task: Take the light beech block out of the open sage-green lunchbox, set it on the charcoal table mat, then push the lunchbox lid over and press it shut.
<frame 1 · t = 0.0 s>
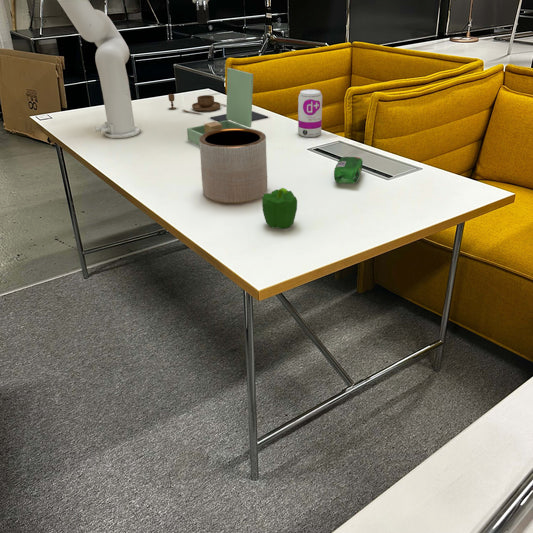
hand: (203, 21, 187), 37 cm above the table, tool pointing down, fingers open, 9 cm apart
place setting: (198, 108, 236), on the table
lunchbox: (219, 142, 193), on the table
planter: (235, 193, 153), on the table
supplement can: (309, 134, 199), on the table
snack package: (348, 179, 160), on the table
block: (214, 141, 192), point 1 cm above the table, touching lunchbox
mat: (239, 118, 221), on the table
lid: (239, 97, 191), point 14 cm above the table, hinge at 95.0°
bell pepper: (279, 225, 135), on the table
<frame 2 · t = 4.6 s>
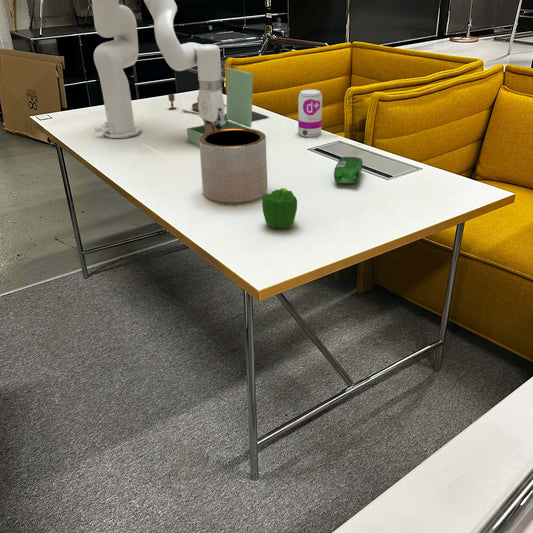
hand: (214, 139, 192), 2 cm above the table, tool pointing down, fingers closed on block, 4 cm apart
block: (214, 141, 192), point 1 cm above the table, touching gripper, lunchbox
everything else where it was.
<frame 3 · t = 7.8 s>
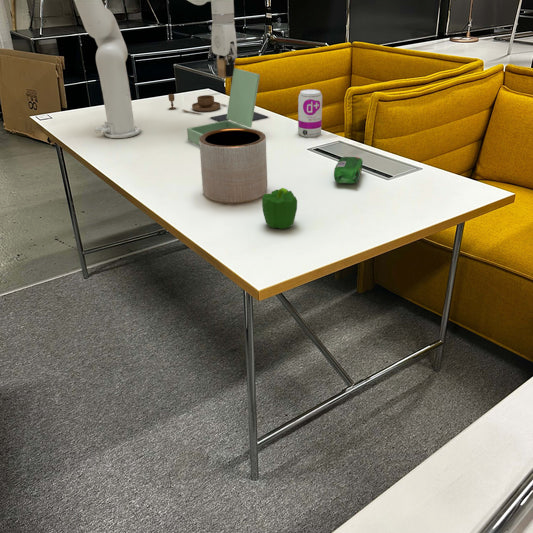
hand: (226, 74, 198), 19 cm above the table, tool pointing down, fingers closed on block, 4 cm apart
block: (226, 76, 199), point 19 cm above the table, touching gripper
lid: (242, 97, 192), point 14 cm above the table, hinge at 104.1°
everything else where it was.
when the fingers open (1 cm above the table, at t = 13.4 s): block stays where it is, resting on mat.
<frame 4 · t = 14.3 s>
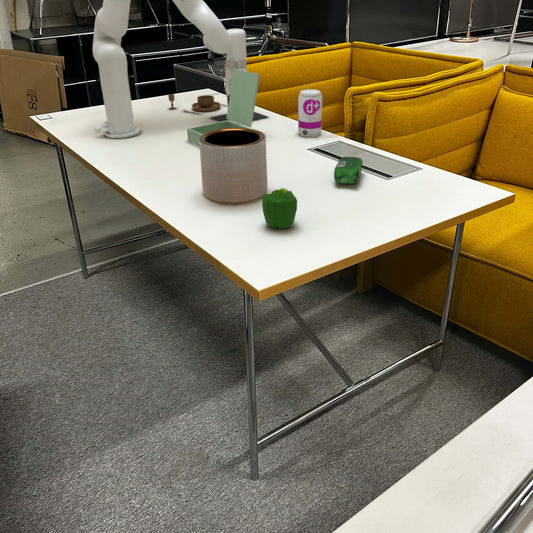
hand: (238, 110, 219), 3 cm above the table, tool pointing down, fingers open, 9 cm apart
block: (239, 116, 220), resting on mat
everything else where it was.
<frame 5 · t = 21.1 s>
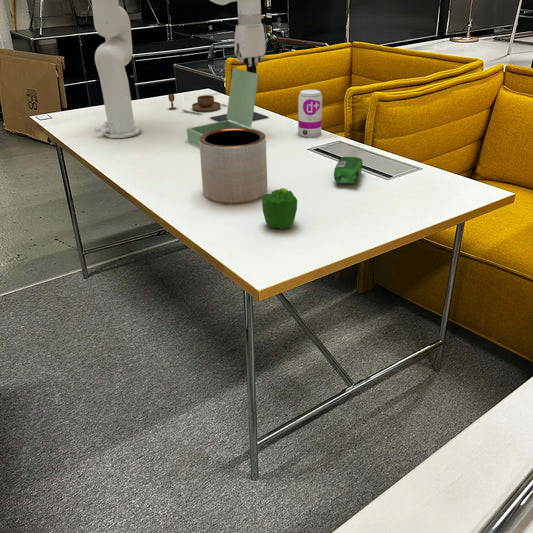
hand: (251, 78, 191), 20 cm above the table, tool pointing down, fingers closed
lid: (241, 97, 192), point 14 cm above the table, hinge at 102.4°
everything else where it was.
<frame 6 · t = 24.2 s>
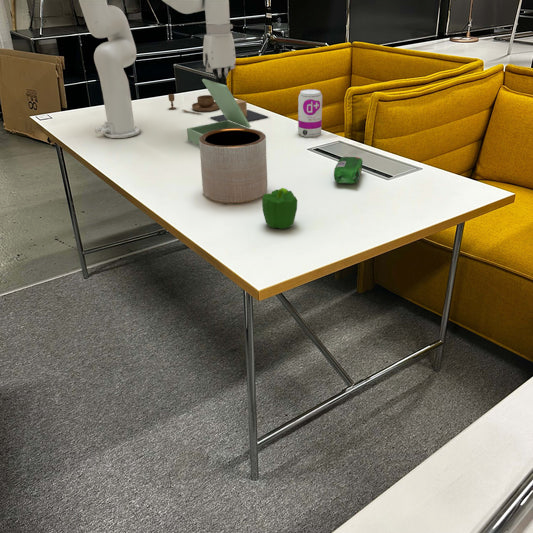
hand: (221, 88, 186), 18 cm above the table, tool pointing down, fingers closed
lid: (226, 103, 189), point 13 cm above the table, hinge at 59.1°, touching gripper
everything else where it was.
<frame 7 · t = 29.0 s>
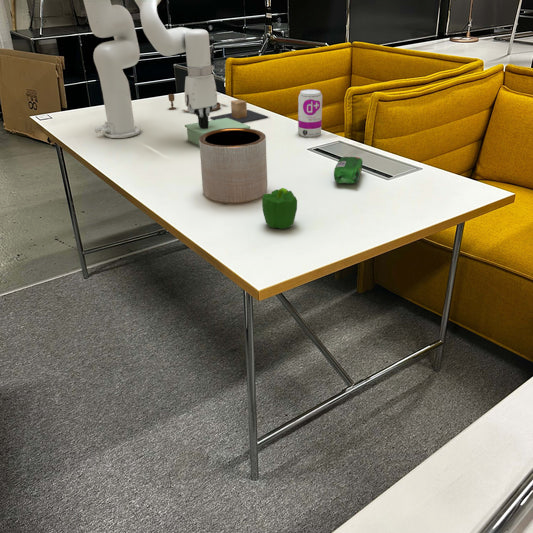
hand: (203, 127, 187), 6 cm above the table, tool pointing down, fingers closed
lid: (217, 126, 190), point 6 cm above the table, hinge at 1.8°, touching gripper
everything else where it was.
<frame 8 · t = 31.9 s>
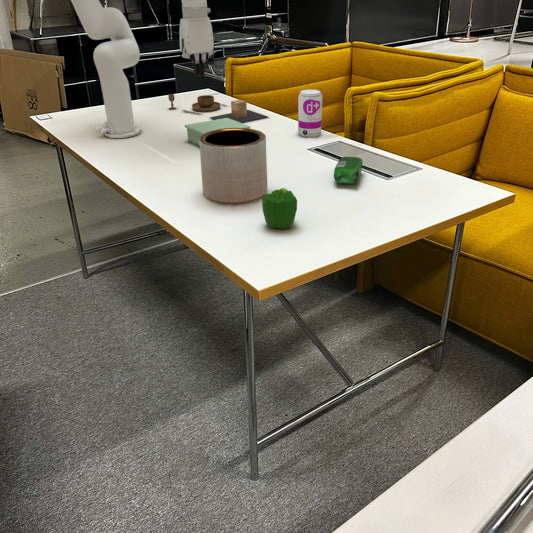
hand: (199, 75, 179), 23 cm above the table, tool pointing down, fingers closed
lid: (217, 126, 190), point 6 cm above the table, hinge at 1.7°
everything else where it was.
at the end: block inside the target area on the mat (0.1 cm from its centre), point 0.5 cm above the mat's base; block tilted 0°; lid at +2° (first picture: +95°) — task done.
